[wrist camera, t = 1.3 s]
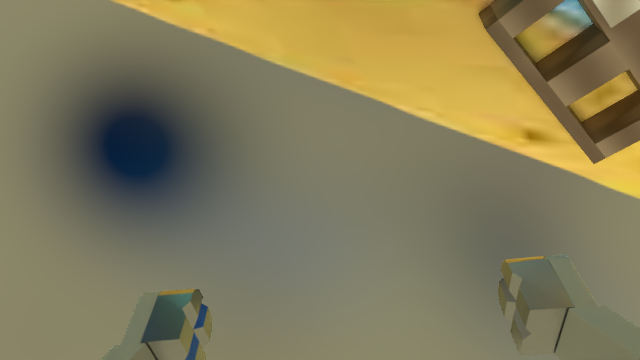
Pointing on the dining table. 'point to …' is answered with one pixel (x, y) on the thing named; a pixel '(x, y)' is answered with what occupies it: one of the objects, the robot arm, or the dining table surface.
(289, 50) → the dining table surface
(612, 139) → the socket block
